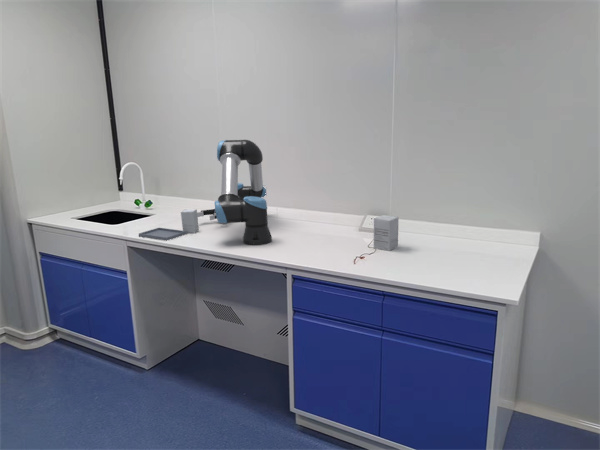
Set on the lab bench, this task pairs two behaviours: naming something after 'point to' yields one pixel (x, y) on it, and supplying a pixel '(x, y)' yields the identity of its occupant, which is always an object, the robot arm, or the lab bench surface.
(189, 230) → the supplement box
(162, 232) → the tray
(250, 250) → the lab bench surface
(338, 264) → the lab bench surface
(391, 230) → the supplement box
